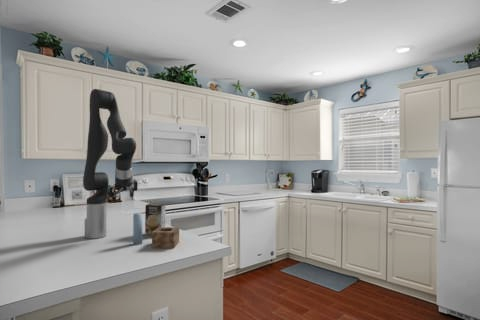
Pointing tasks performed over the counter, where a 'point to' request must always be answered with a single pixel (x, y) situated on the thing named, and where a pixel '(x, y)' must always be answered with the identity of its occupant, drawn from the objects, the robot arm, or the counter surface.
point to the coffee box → (154, 217)
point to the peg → (137, 228)
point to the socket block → (165, 237)
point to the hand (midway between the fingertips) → (122, 199)
